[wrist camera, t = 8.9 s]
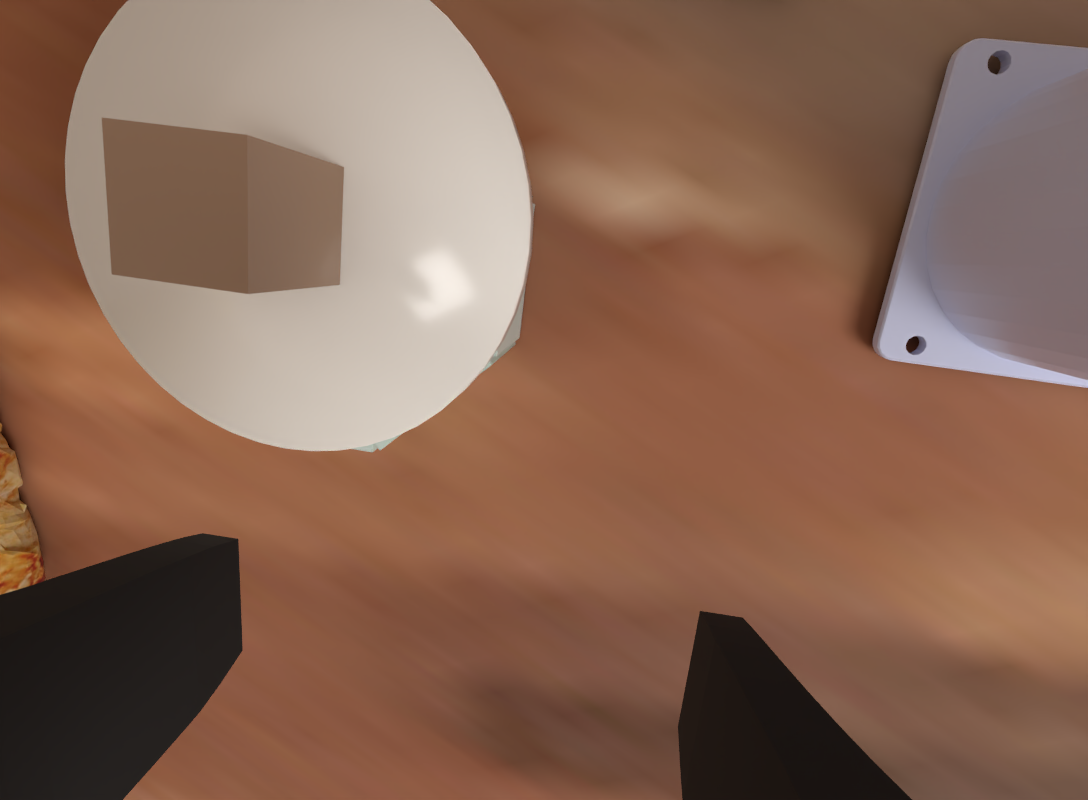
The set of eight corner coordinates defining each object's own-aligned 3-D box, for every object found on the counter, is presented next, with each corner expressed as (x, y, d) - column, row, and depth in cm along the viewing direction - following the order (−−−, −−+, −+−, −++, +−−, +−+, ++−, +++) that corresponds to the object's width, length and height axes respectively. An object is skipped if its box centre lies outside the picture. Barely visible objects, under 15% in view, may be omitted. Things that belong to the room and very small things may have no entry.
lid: (563, -20, 12) (536, -164, 8) (505, 472, 15) (463, 554, 11) (77, -64, 13) (-173, -214, 9) (109, 407, 16) (-69, 459, 12)
